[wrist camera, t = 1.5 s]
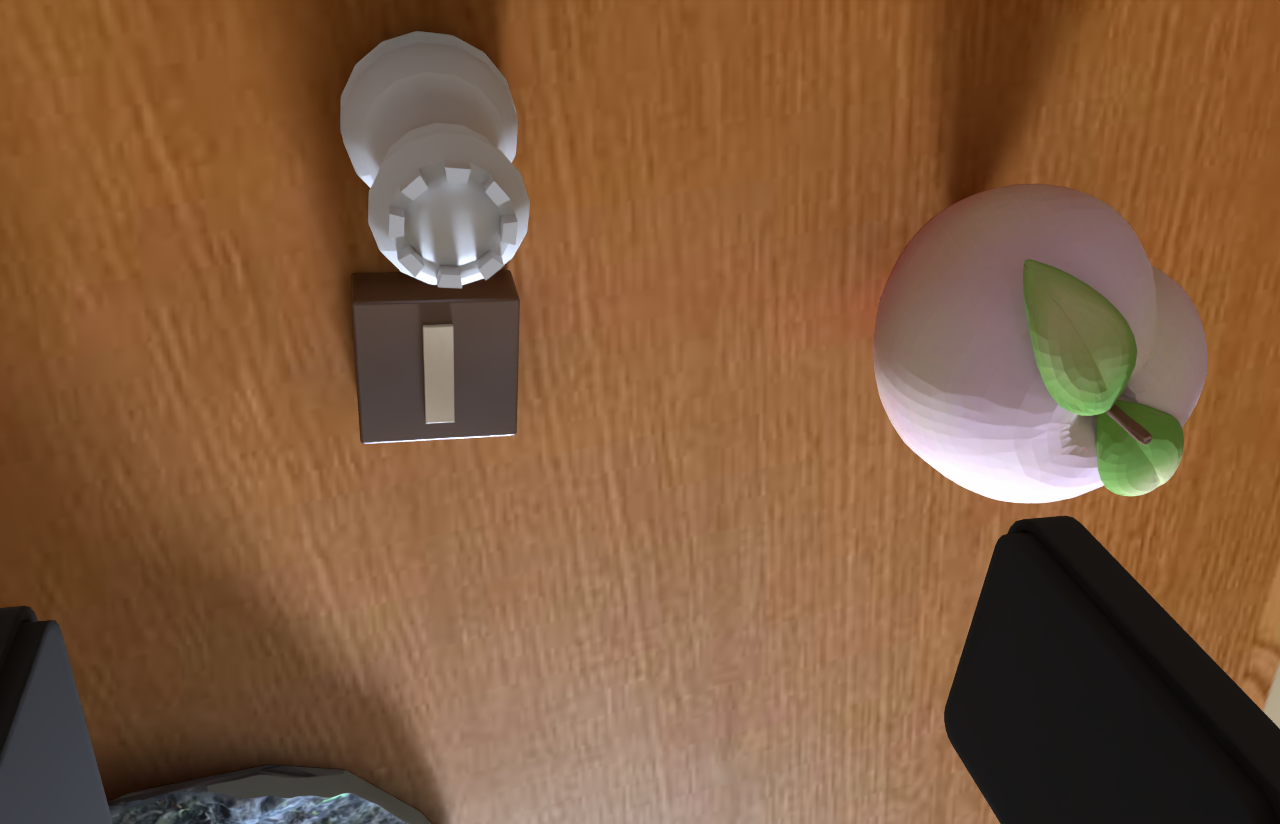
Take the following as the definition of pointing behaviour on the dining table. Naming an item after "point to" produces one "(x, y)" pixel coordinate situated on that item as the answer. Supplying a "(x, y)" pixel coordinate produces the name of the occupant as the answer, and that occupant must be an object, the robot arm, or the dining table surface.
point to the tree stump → (266, 800)
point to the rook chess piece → (436, 157)
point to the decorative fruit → (1038, 348)
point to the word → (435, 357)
